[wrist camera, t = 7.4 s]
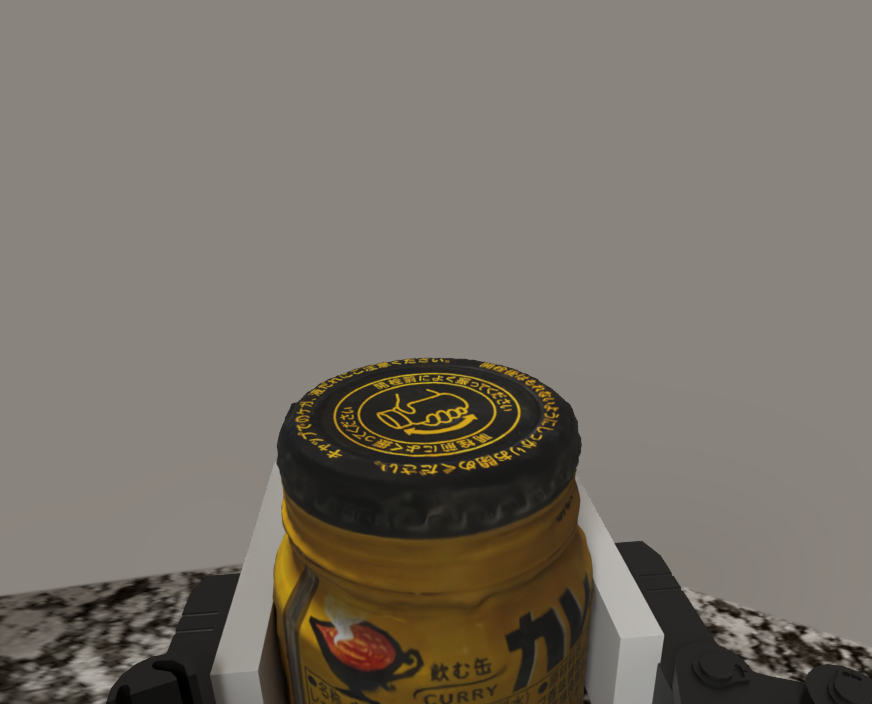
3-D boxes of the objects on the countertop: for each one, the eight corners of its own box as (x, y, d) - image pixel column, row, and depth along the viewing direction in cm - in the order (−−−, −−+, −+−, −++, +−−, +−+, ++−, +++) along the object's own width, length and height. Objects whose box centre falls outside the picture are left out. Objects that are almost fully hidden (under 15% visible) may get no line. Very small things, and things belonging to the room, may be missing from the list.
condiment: (376, 691, 19) (346, 325, 15) (666, 778, 16) (733, 361, 12) (229, 984, 13) (99, 492, 8) (664, 1208, 10) (805, 650, 6)
